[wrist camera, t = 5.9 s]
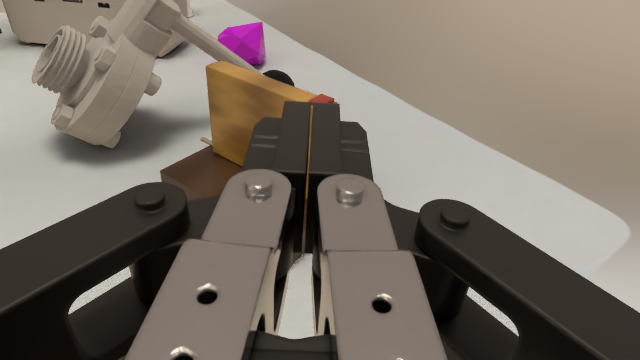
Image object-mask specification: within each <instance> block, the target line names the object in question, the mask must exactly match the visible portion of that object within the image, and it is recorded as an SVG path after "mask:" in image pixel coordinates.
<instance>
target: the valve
mask: <svg viewBox="0 0 640 360" xmlns="http://www.w3.org/2000/svg"><path fill="white" fill-rule="evenodd" d="M180 13H181V8H180V7H179V6H178V5H177V4H176V3H175V2H174V1H173V0H127V1H126V2H125V3H124V5H123V6H122V8H121V9H120V11H119V12H118V14H117V15H116V16H115V18H114V19H112V20H110V21H109V20H107V19H106V18H104V17H103V16H98V17H97V18H96V19H95V20H94V21H93V22H92V24H91V26H90V31H89V35H91V36H92V39H91V40H90V41H89V43H88V44H87V41H86V36H85V35H84V34H81V33H80V32H79V31H76V30H75V29H74V28H70V26H69V25H66V26H64V25H63V26H61V27H60V28H59V29H58V30H57V31H56V32H55V33H54V35H53V36H52V37H51V39H50V40H49V42H48V43H47V45H46V46H45V48H44V50H43V51H42V53H41V55H40V57H39V59H38V61H37V63H36V66H35V68H34V71H33V75H32V82H33V83H36V82H37V84H38V85H39V86H41V85H42V84H43V88H47V87H48V90H49V91H52V90H53V92H54V93H58V92H60V93H61V94H60V97H59V99H58V103H57V106H56V109H55V111H54V113H53V115H52V120H51V123H52V124H54V125H55V127H56V129H58V130H59V131H62V132H64V133H66V134H69V135H71V136H74V137H76V138H78V139H81V140H83V141H85V142H88V143H90V144H93V145H100V144H102V145H104V146H106V147H109V148H114V147H115V146H116V145H117V143H118V141H119V139H120V136H121V132H120V129H121V128H122V126H123V125H124V124H125V123H126V121H127V120H128V119H129V117H130V116H131V114H132V113H133V111H134V110H135V108H136V106H137V105H138V103H139V101H140V99H141V97H142V96H143V94H144V93H146V94H148V95H150V96H153V95H154V94H155V93H156V92H157V91H158V90H159V88H160V85H161V82H162V80H161V78H160V77H159V76H157V75H155V74H153V73H152V71H153V67H154V63H155V58H156V57H157V56H158V54H159V53H160V52H161V50H162V49H163V48H164V46H165V45H166V44H167V42H168V41H169V40H170V38H171V37H172V32H171V31H170V29H169V28H171V29H172V30H174V31H175V32H177V33H178V34H180V35H181V36H183V37H184V38H185V39H187V40H188V41H190V42H191V43H193V44H194V45H196V46H197V47H199V48H200V49H201V50H203V51H204V52H206V53H207V54H209V55H210V56H212V57H213V58H214V59H216V60H217V61H225V62H228V63H231V64H233V65H236V66H239V67H242V68H244V69H247V70H250V71H252V72H255V73H258V74H261V75H263V76H266V77H269V78H272V79H274V80H277V81H280V82H282V83H285V84H288V85H291V86H293V87H295V86H294V83H293V81H292V79H291V78H290V77H289V76H288V75H287V74H285V73H284V72H281V71H278V70H270V71H267V72H265V73H263V74H262V73H261V72H259V71H258V70H257V69H255V68H254V67H253V66H251V65H250V64H248V63H247V62H246V61H244V60H243V59H242V58H240V57H239V56H238V55H236V54H235V53H233V52H232V51H231V50H229V49H228V48H227V47H225V46H224V45H223V44H221V43H220V42H218V41H217V40H216V39H214V38H213V37H212V36H210V35H209V34H208V33H206V32H205V31H203V30H202V29H201V28H199V27H198V26H197V25H195V24H194V23H193V22H191V21H190V20H188V19H187V18H186V17H184V16H183V15H182V14H180ZM86 44H87V45H86Z"/></svg>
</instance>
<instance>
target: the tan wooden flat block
mask: <svg viewBox="0 0 640 360" xmlns="http://www.w3.org/2000/svg"><path fill="white" fill-rule="evenodd" d="M206 75H207V86H208V98H209V109H210V121H211V132H212V144H213V152H215V153H217V154H219V155H220V156H222V157H224V158H226V159H228V160H230V161H232V162H234V163H236V164H238V165H240V166H243V163H244V159H245V156H246V153H247V149H248V146H249V142H250V139H251V135H252V132H253V129H254V125H255V124H257V123H258V122H259V121H260V120H262V119H263V118H264V117H277V118H281V117H282V112H283V107H284V102H285V101H302V102H311V113H310V132H309V152H308V169H307V184H306V199H307V196H308V177H309V161H310V145H311V130H312V115H313V102H319V103H336V104H337V102H334V98H331V97H328V96H326V95H323V94H320V95H315V94H312V93H310V92H307V91H304V90H301V89H299V88H296V87H293V86H291V85H288V84H285V83H282V82H280V81H277V80H274V79H272V78H269V77H266V76H263V75H261V74H258V73H255V72H252V71H250V70H247V69H244V68H242V67H239V66H236V65H233V64H231V63H228V62H225V61H219V62H216V63H213V64H210V65H207V66H206Z"/></svg>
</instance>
